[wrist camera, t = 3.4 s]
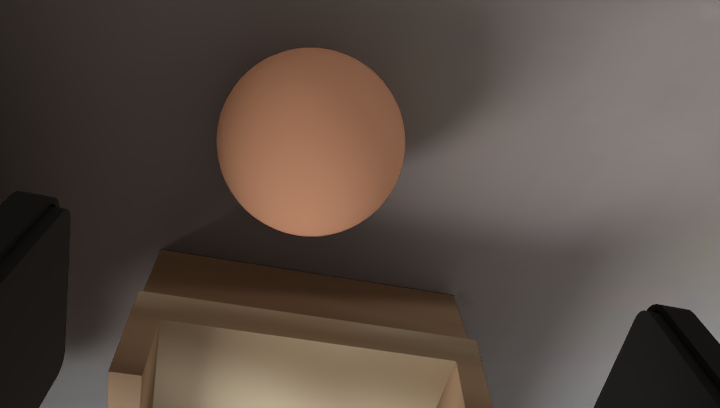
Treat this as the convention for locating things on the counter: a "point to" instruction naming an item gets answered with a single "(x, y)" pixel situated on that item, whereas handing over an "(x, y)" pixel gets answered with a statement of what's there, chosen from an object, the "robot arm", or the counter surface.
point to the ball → (311, 141)
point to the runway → (289, 342)
